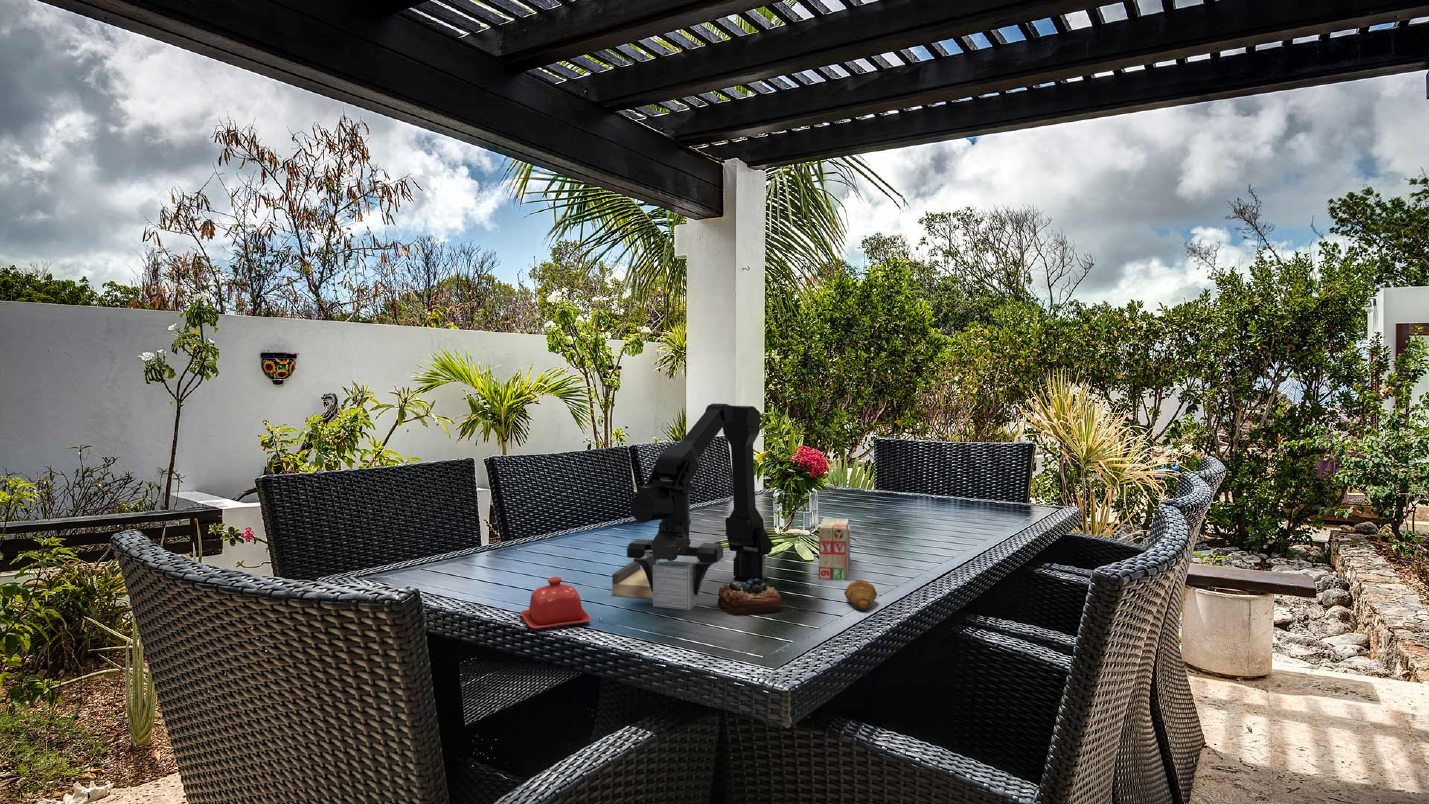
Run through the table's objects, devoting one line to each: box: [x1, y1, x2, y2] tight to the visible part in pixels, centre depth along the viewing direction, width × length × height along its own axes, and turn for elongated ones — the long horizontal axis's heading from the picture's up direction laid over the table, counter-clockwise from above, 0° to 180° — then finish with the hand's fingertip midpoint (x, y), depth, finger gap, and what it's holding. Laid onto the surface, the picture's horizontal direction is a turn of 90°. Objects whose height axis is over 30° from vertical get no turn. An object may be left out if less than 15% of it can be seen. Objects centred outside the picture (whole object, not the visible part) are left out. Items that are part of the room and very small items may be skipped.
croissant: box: [843, 579, 878, 612], centre depth 164 cm, size 14×7×5 cm, turn 176°
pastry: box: [717, 579, 782, 617], centre depth 161 cm, size 11×12×6 cm
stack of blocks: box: [818, 517, 851, 581], centre depth 194 cm, size 21×6×12 cm, turn 168°
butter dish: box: [519, 576, 591, 630], centre depth 151 cm, size 12×12×8 cm
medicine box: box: [652, 559, 698, 611], centre depth 161 cm, size 8×4×9 cm, turn 71°
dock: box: [611, 560, 653, 600], centre depth 174 cm, size 14×14×4 cm
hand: (674, 593), depth 161 cm, fingers open, 9 cm apart
